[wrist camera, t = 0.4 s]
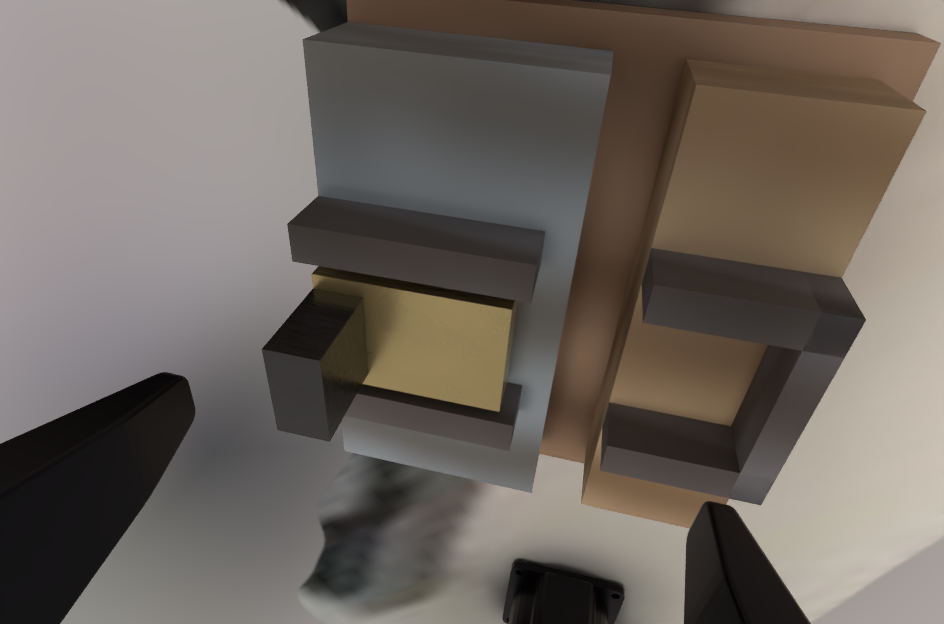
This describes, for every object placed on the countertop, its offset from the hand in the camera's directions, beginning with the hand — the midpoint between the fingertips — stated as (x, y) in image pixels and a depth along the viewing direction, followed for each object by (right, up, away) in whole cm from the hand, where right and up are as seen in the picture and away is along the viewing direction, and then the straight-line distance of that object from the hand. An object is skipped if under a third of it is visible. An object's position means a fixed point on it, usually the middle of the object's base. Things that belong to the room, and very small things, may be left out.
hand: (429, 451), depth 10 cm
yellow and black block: (-1, +2, +9) cm, 10 cm away
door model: (+5, +4, +12) cm, 14 cm away
